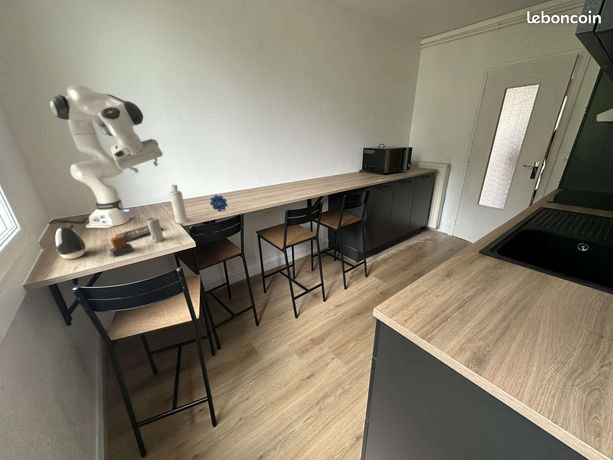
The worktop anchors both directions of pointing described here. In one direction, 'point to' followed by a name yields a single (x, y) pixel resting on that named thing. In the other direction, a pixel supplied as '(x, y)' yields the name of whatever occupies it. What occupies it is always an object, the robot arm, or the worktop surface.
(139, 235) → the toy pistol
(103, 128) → the robot arm
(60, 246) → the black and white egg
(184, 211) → the white bottle
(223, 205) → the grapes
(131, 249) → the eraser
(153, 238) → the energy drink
